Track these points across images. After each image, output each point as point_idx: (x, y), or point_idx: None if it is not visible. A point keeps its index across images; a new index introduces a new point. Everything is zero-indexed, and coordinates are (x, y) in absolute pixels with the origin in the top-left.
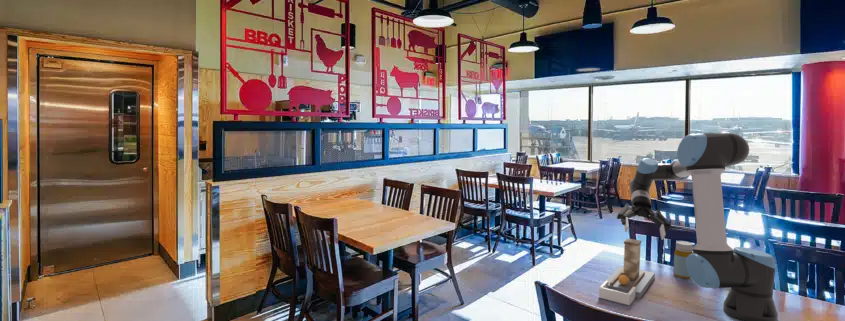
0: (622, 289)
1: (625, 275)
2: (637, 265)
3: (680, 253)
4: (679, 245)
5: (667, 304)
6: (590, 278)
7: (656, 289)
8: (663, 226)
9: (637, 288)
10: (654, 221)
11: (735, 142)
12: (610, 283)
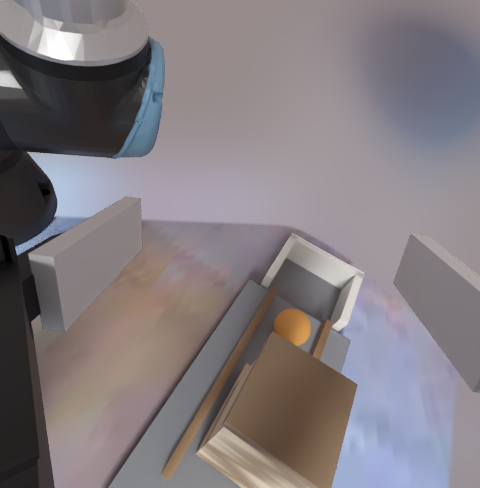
0: (292, 307)
1: (293, 319)
2: (230, 396)
3: None
4: None
5: (182, 260)
6: (384, 461)
7: (159, 364)
8: (63, 236)
9: (248, 307)
10: (43, 426)
11: None
12: (330, 323)
